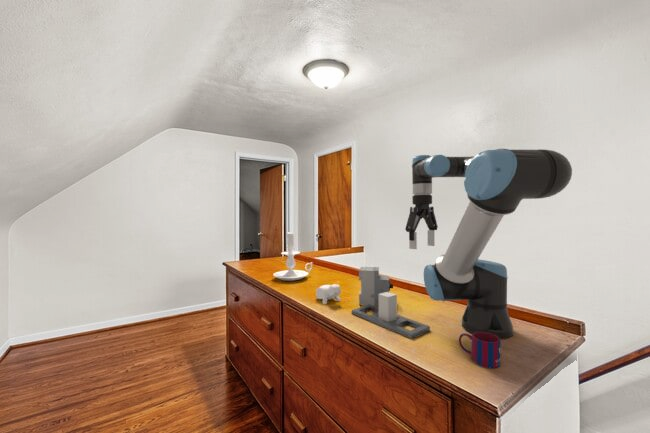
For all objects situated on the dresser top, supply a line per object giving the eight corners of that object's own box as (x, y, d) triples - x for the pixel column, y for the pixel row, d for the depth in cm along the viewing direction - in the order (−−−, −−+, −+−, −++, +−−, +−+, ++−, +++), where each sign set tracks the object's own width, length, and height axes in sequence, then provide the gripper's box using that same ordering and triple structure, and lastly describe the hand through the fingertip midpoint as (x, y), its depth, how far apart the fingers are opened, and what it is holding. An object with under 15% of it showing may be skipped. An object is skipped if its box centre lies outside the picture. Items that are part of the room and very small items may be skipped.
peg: (396, 322, 106) (396, 294, 106) (388, 325, 103) (388, 297, 103) (387, 318, 110) (386, 291, 109) (378, 321, 107) (378, 294, 106)
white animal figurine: (315, 306, 132) (331, 303, 120) (312, 287, 135) (327, 282, 123) (331, 303, 137) (348, 299, 124) (327, 285, 139) (344, 279, 127)
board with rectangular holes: (430, 330, 98) (429, 326, 98) (411, 338, 92) (411, 334, 92) (369, 308, 120) (369, 304, 120) (351, 313, 114) (351, 310, 114)
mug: (496, 371, 73) (496, 345, 73) (455, 357, 80) (455, 333, 80) (503, 361, 78) (503, 336, 78) (464, 349, 85) (464, 326, 85)
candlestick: (320, 279, 170) (320, 231, 169) (280, 285, 158) (279, 233, 157) (305, 272, 188) (305, 229, 187) (268, 277, 176) (267, 231, 175)
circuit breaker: (393, 306, 122) (393, 271, 121) (359, 305, 125) (358, 270, 124) (392, 301, 129) (392, 267, 129) (360, 299, 132) (360, 266, 132)
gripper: (429, 195, 129) (429, 243, 129) (395, 194, 112) (396, 249, 113) (446, 195, 123) (446, 245, 123) (413, 193, 107) (413, 251, 107)
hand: (422, 247), depth 118 cm, fingers open, 13 cm apart
